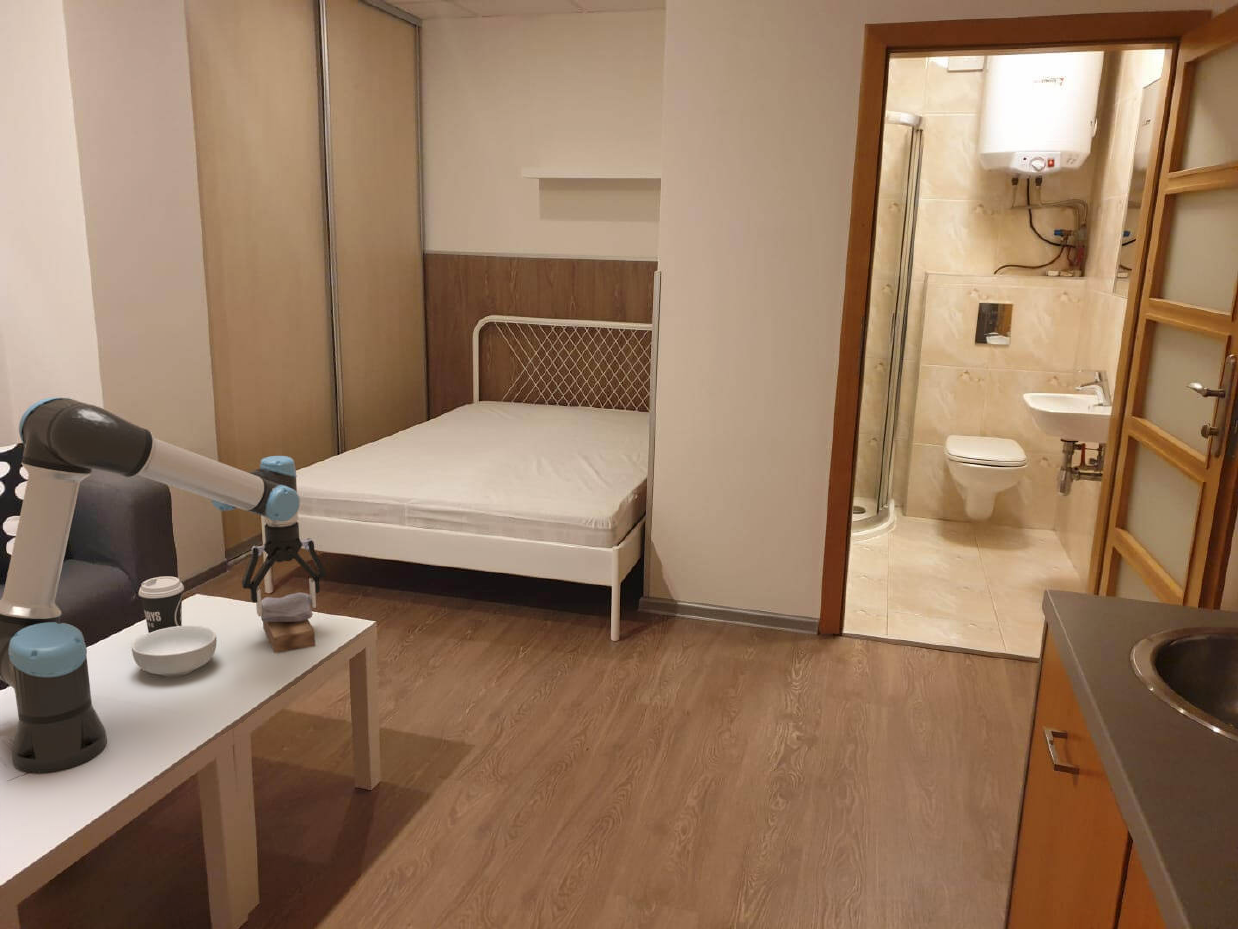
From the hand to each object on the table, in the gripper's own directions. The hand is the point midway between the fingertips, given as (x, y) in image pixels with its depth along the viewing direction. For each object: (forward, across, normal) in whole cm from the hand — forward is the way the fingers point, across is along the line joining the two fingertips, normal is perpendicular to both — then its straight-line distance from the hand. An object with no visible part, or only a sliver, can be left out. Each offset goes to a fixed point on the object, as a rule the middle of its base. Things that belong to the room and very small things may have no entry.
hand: (286, 610), depth 227 cm
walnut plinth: (+7, 0, 0) cm, 7 cm away
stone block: (+2, 0, +1) cm, 2 cm away
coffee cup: (+7, -26, +9) cm, 28 cm away
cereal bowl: (+7, -25, -7) cm, 27 cm away
